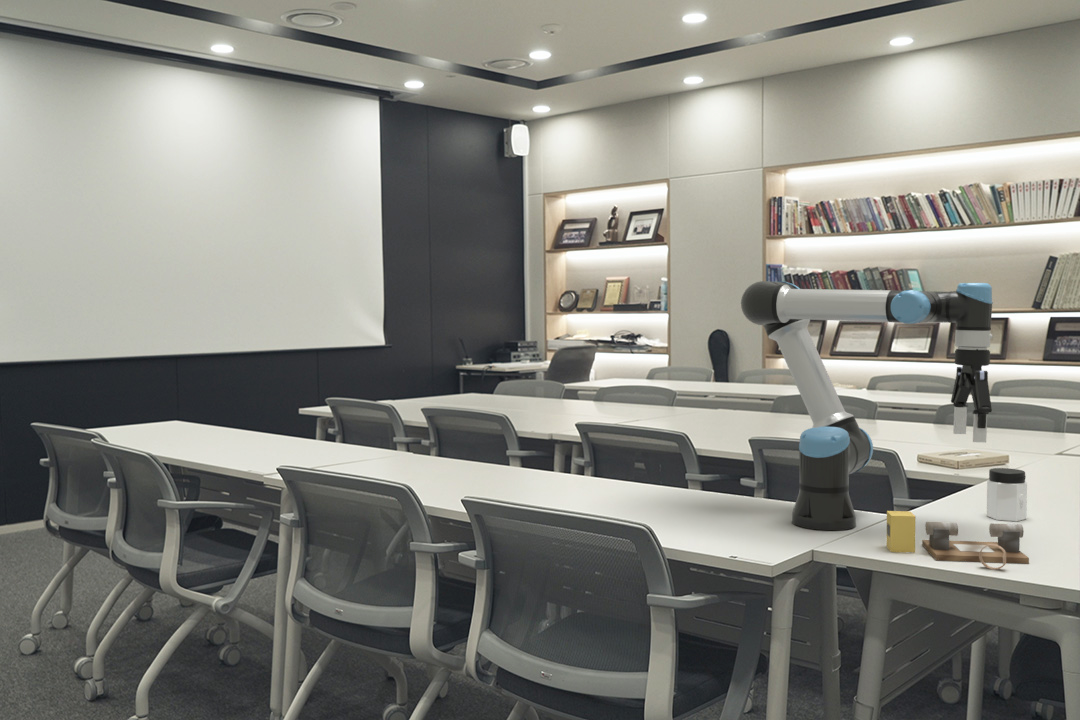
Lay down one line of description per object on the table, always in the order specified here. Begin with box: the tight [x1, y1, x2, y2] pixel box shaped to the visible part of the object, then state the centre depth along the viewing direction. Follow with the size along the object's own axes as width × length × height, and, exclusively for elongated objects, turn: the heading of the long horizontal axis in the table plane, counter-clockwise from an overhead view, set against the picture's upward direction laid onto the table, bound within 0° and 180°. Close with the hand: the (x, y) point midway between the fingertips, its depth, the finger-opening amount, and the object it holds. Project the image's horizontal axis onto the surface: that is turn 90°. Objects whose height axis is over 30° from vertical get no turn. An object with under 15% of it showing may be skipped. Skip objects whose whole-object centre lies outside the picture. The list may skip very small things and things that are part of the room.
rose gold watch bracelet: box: [979, 544, 1007, 571], centre depth 187 cm, size 3×5×5 cm, turn 55°
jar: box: [986, 467, 1028, 523], centre depth 232 cm, size 9×8×12 cm
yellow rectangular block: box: [886, 510, 916, 554], centre depth 203 cm, size 5×5×8 cm
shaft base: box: [921, 521, 1030, 564], centre depth 198 cm, size 19×13×7 cm
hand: (969, 438), depth 218 cm, fingers open, 13 cm apart
